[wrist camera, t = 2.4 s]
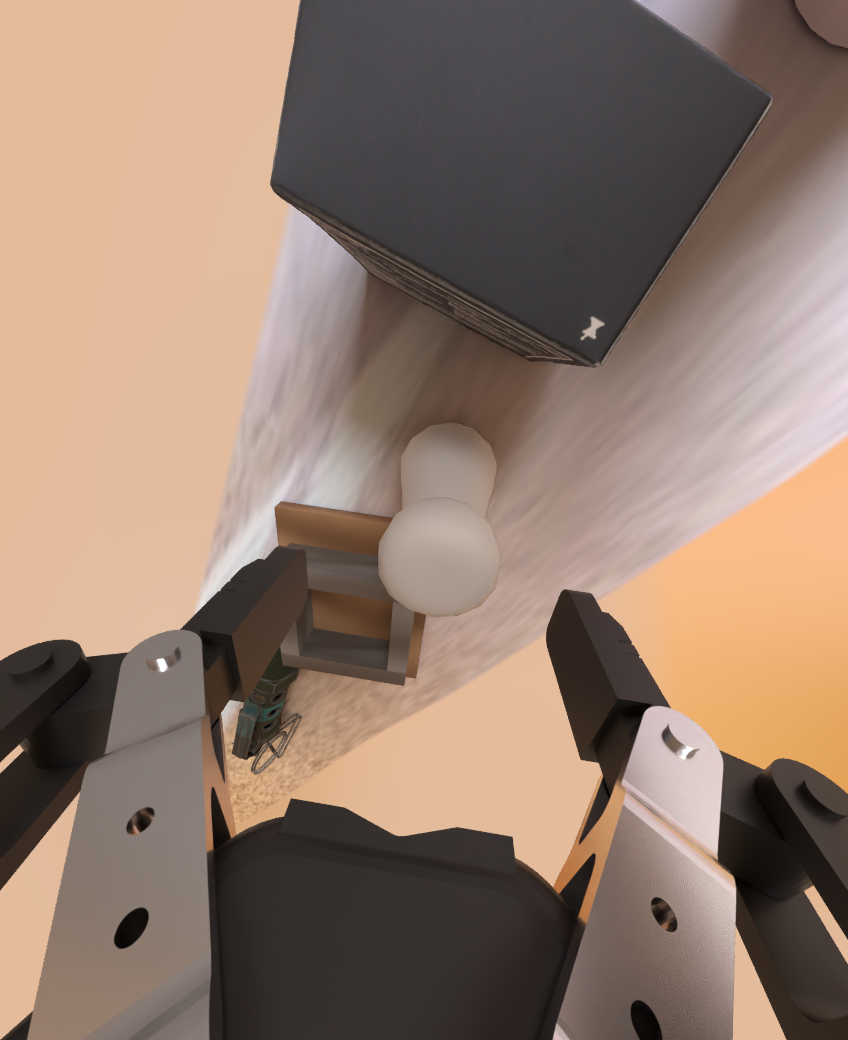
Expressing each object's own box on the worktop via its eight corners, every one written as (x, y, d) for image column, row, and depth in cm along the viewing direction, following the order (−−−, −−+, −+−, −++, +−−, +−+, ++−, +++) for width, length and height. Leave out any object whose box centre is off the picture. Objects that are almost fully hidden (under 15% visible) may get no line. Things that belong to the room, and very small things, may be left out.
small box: (611, 230, 16) (809, 76, 7) (534, 364, 19) (600, 383, 10) (412, 110, 15) (331, -269, 6) (364, 273, 18) (260, 197, 9)
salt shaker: (413, 503, 24) (368, 647, 12) (398, 422, 21) (324, 510, 10) (496, 494, 23) (530, 642, 12) (490, 409, 20) (526, 489, 9)
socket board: (281, 501, 25) (251, 526, 21) (439, 525, 25) (435, 555, 21) (295, 649, 33) (275, 685, 29) (417, 669, 32) (411, 709, 29)
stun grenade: (267, 631, 33) (249, 709, 39) (221, 686, 27) (209, 766, 34) (325, 657, 33) (298, 730, 39) (291, 717, 27) (266, 791, 34)
